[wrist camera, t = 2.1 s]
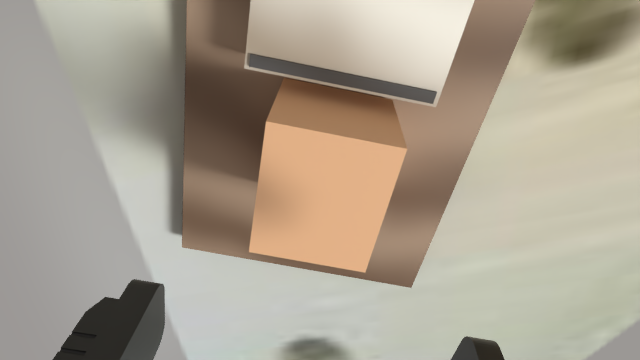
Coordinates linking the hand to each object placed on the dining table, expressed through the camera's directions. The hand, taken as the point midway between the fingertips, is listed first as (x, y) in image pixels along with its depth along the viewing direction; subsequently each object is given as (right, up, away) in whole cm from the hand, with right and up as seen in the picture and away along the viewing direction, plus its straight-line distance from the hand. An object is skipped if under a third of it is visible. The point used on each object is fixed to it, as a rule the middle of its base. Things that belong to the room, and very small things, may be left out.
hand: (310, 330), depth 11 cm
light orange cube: (+1, +6, +9) cm, 11 cm away
